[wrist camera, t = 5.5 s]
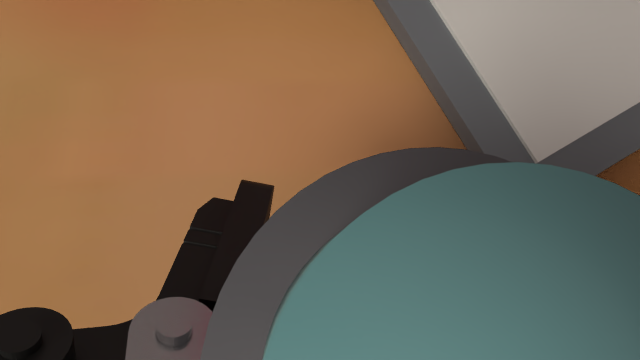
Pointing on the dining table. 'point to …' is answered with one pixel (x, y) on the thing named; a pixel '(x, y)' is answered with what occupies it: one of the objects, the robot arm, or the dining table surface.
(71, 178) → the dining table surface
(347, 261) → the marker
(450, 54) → the grey flat block
